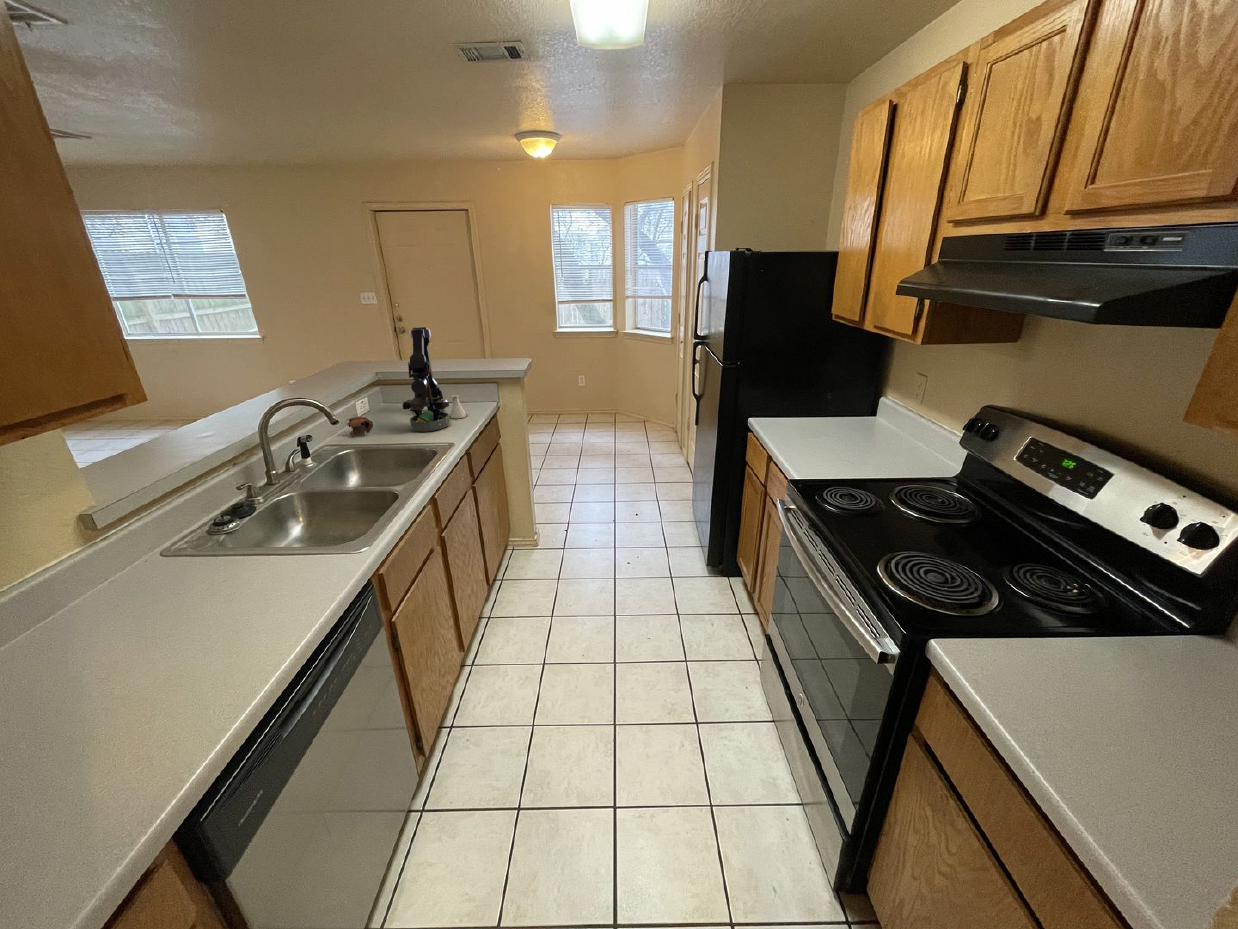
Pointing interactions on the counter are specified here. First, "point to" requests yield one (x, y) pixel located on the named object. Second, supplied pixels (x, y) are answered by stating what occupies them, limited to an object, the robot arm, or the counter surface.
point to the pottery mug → (360, 426)
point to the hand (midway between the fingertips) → (429, 423)
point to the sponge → (426, 417)
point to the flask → (457, 408)
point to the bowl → (430, 423)
